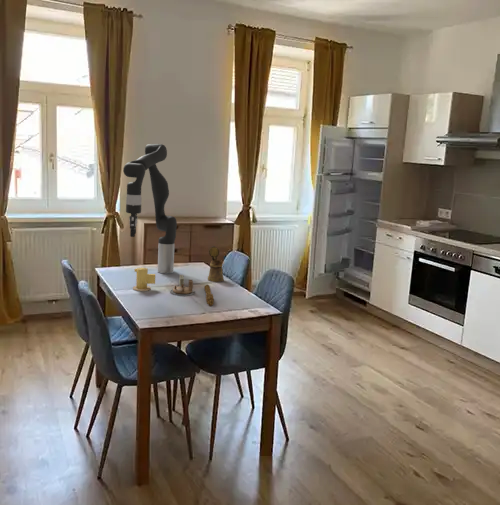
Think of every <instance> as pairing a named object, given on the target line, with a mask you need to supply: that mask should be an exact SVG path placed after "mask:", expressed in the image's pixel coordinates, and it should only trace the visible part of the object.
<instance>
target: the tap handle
mask: <svg viewBox="0 0 500 505" xmlns="http://www.w3.org/2000/svg"><path fill="white" fill-rule="evenodd" d="M204 291H205V299H206V304H207V305H208V306H210V307H211V306H213V305H214V300H215V299H214V294H213V293H212V292H211V286H210V285H209V284H205V285H204Z"/></svg>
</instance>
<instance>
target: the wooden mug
mask: <svg viewBox="0 0 500 505" xmlns="http://www.w3.org/2000/svg"><path fill="white" fill-rule="evenodd" d="M208 254H209V256H211V258H212V260H211V261H210V264H209V267H210V268H209V271H208V272H209V273H208V276H207V281H209V282H213V283H221V282H224V279H225V278H224V273H223V261H222V260H220V259H218V256H219V255H220V250H219V249H218V248H217V247H216V246H215V245H212V246H211V247H210V248H209V249H208Z"/></svg>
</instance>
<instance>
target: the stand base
mask: <svg viewBox="0 0 500 505" xmlns="http://www.w3.org/2000/svg"><path fill="white" fill-rule="evenodd" d="M169 294H171V295H173V296H179V297H190V296H193V295H195V294H196V291H195V290H193V291H192V293H189V294H178V293H174V292H173V289H171V290H169Z"/></svg>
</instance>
